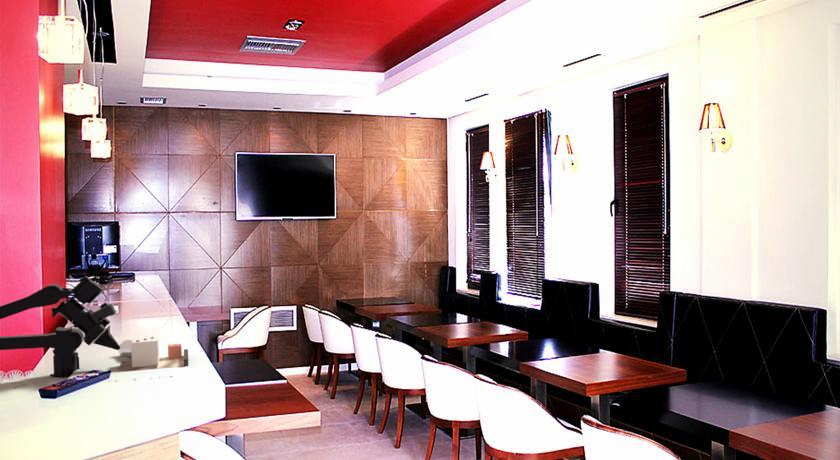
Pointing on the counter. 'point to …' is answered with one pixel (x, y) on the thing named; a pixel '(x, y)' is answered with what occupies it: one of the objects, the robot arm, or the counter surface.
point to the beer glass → (125, 348)
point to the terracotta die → (174, 351)
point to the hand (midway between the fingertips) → (119, 348)
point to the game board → (163, 363)
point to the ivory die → (145, 352)
